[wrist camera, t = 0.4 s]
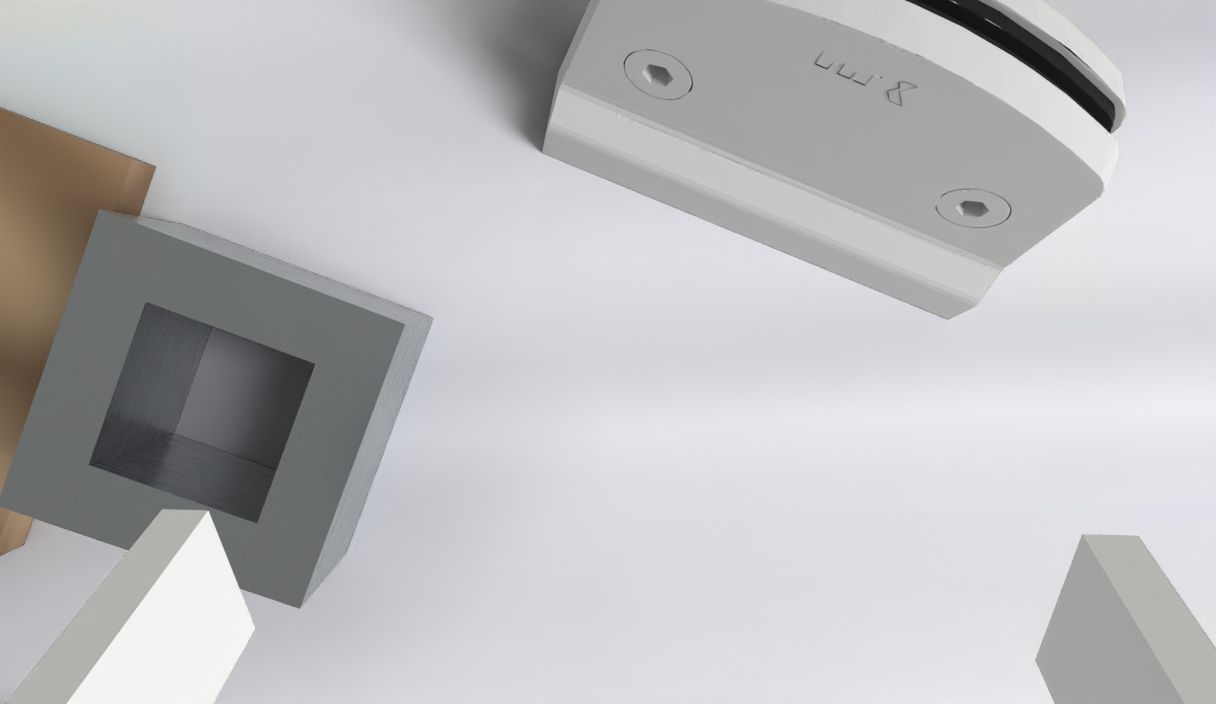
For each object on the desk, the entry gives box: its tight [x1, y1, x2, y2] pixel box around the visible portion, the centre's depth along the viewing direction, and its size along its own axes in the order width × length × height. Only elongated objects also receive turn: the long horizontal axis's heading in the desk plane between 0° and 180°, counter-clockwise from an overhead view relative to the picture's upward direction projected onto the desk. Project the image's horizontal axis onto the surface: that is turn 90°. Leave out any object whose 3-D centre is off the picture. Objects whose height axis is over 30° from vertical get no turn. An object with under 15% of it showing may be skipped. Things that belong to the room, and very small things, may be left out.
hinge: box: [542, 0, 1126, 320], centre depth 24 cm, size 17×5×10 cm, turn 68°
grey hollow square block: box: [0, 209, 433, 609], centre depth 25 cm, size 9×9×5 cm
